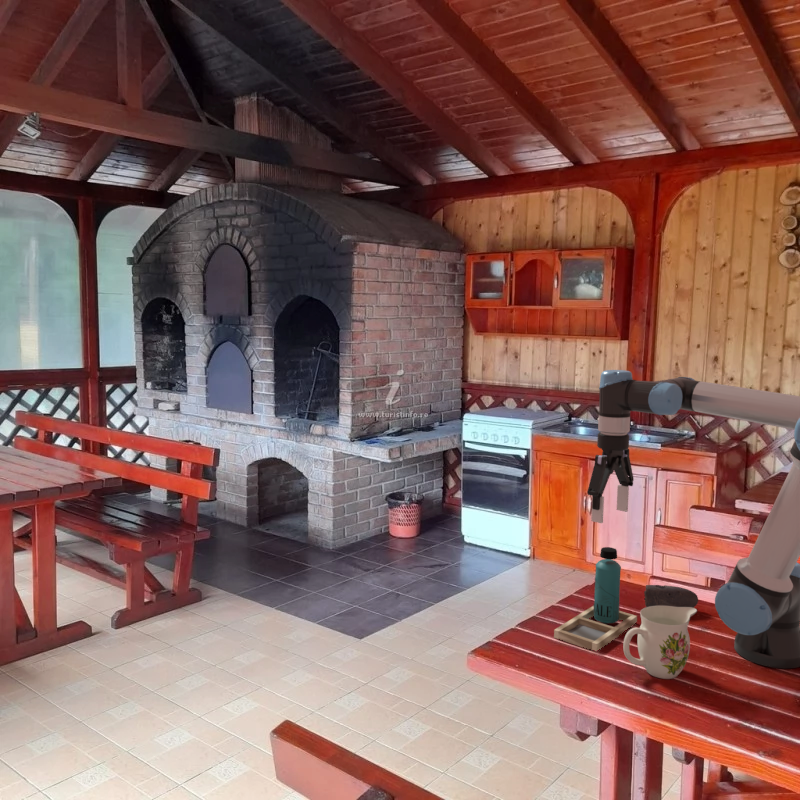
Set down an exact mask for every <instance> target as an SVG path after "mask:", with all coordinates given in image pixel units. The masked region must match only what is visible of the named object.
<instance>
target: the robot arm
mask: <svg viewBox="0 0 800 800" xmlns="http://www.w3.org/2000/svg"><path fill="white" fill-rule="evenodd" d="M599 380H600V381H599V387H598V390H599V395H598V396H599V397H598V398H599V400H598V401H599V402H598V404H599V405H598V418H597V419H596V420H597V421H598V427H597V430H598V433H597V441H596V442H597V445H596V446H597V448H599V449H601V450H602V452H601V455H600V454H596V455H595V458H594V463H593V465H594V466H593V469H592V472H591V473H592V474H591V476H590V480H589V483H588V487H587V495H588V496H591V497H592V499H591V518H590V519H591V522H594V523H598V524H603V523H604V510H605V509H604V508H605V507H604V506H605V505H604V504H605V496H603V494H604V491H605V489H606V486H607V485H608V484H607V483H608V481H609V479H610V475H611V474H614V473H615V475H616V478H617V481H618V483H619V484H617V492H616V493H617V494H616V495H617V496H616V510H617V511H619V512H628V511H629V494H630V493H629V492H630V491H629V490H630V487H633V486H634V473H633V468H632V464H631V459H630V449H629V448H630V435H629V432H631V430H630V428H631V412H639V413H644V414H645V413H646V414H654V415H658V416H664V415H665V416H673V415H676V414H677V413H678V411H680V410H684V411H689V412H694V413H696V412H697V413H702V414H706V415H713V416H718V417H724V418H728V419H733V420H734V419H735V420H740V421H745V422H751V423H755V424H761V425H766V426H772V427H777V428H783V429H788V430H794V435H793V438H794V441H793V444H792V446H791V448H790V450H789V456H790V457H791V459H792V462H793V463H792V465H791V467H790V469H789V472H788V473H787V476H786V478H785V480H784V482H783V483H782V486H781V488H780V490H779V493H778V494H777V497H776V499H775V500H774V503H773V505H772V506H771V509H770V511H769V514H768V515H767V518H766V520H765V522H764V524H763V526H762V529H761V530H760V532H759V534H758V537H757V539H756V541H755V542H754V545H753V547H752V550H751V551H750V553H749V555H748V557H744V558H740V559H738V561H737V562H736V564H735V566H734V569H733V571H732V572H731V575H730V577H729V579H728V581H727V582H726V583H724V584H723V585H721V587H720V588H718V591H717V592H716V594H715V596H714V607H715V610H716V612H717V614H718V616H719V618H720V620H721V621H722V622H723V623H724V625H726V626H727V628H729V629H731V631H734V632H736V635H735V637H734V643H733V645H734V650H735V652H736V653H737V654H738V655H739V656H740V657H742V658H744V659H745V660H748V661H749V662H752V663H755V664H757V665H761V666H765V667H769V668H773V669H774V668H775V669H795V668H796V669H797V668H800V563H799V562H798V560H799V558H800V395H794V394H788V393H782V392H781V393H780V392H774V391H768V390H760V389H754V388H748V387H740V386H735V385H727V384H721V383H715V382H708V381H700V380H697V379H696V380H695V379H694V378H692V377H686V376H678V377H675V378H667V379H661V380H656V381H654V380H653V381H651V380H649V381H648V380H637V379H633V373H632V371H629V370H625V369H606V370H603V371H602V372H601V374H600V379H599Z"/></svg>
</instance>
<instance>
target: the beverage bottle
mask: <svg viewBox="0 0 800 800" xmlns="http://www.w3.org/2000/svg"><path fill="white" fill-rule="evenodd" d="M599 555H600V556H599V557H600V558H602V559H600V560H598V561H597V562H596V563H595V573H594V576H595V577H594V589H593V591H594V595H593V599H594V600H593V606H594V609H593V612H594V620H596V622H599V623H602V624H615V623H617V622H618V621H619V620H618V619H619V611H620V606H621V605H620V592H621V591H620V589H621V586H620V585H621V569H622V566H621V565H620V564H619V562H617V559H618V550H617V549H616V548H614V547H609V546H605V547H601V549H600V554H599Z"/></svg>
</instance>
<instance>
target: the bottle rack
mask: <svg viewBox="0 0 800 800" xmlns="http://www.w3.org/2000/svg"><path fill="white" fill-rule="evenodd" d="M593 609H594V605H592V606H591V607H588V608H587V609H585V610H584V611H582V612H580V613H579V614H577V615H576V616H574V617H573V618H571V619H570V620H567V621H566V622H565V623H563V624H562V625H560V626H558V627H556V628H555V629H553V633H554V634H553V638H554V639H557V640H559V639H560V641H562V640H563V642H564V643H565V642H566V643H569V644H571V645H574V646H578V647H580V648H583V647H584V648H583V649H586V648H587V649H586V650H589V649H591V650H590V651H592V650H595V651H597V650H599V649H600V650H602V649H603V648H605V647H604V646H605V645H606V646H607V645H609V644H611V641H612V640H613V641H614V640H616V639H617V638H618V637H620V636H621V635H623V634H624V633H625V632H626V631H625V630H627V629H628V628H630V627H631V626H632V625H634V624H635V623H636V622H637V623H638V615H634V614H632V613H628V612H625V611H621V610H619V619H618V621H620V620H623V621H620V623H618V624H617V625H615V626H612V625H608V624H607V623H603V622H599V621H597V620H596V621H595V620H593V619H592V618H593V616H594V612H593ZM591 617H592V618H591ZM589 618H590V619H589ZM635 625H636V624H635ZM635 625H634V626H635ZM632 627H633V626H632ZM632 627H631V628H632ZM631 628H630V629H631ZM628 630H629V629H628ZM628 630H627V631H628ZM624 631H625V632H624ZM623 632H624V633H623ZM622 633H623V634H622ZM620 634H621V635H620ZM619 635H620V636H619ZM615 638H616V639H615ZM613 641H612V642H613ZM608 643H609V644H608ZM602 647H603V648H602ZM601 648H602V649H601ZM600 650H599V651H600Z"/></svg>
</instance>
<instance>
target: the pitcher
mask: <svg viewBox="0 0 800 800" xmlns="http://www.w3.org/2000/svg"><path fill="white" fill-rule="evenodd" d="M697 612H698V610H697V608H695V607H694V608H692V607H673V606H650V607H646V606H645V607H644V608H642V609H640V611H639V613H640V619H641V624H640V626H639V627H633V628H632V627H631V628H630V629H628V630H627V631H626V634H625V636H624V638H623V648H622V649H623V650H622V651H623V653H624V656H625V658H626V659H627V660H628V661H629V663H631V664H633V665H635V666H639V667H641V666H643V667H644V669H645V670H646V673H648V674H649V675H650V676H653V677H655V678H658V679H663V680H670V679H675V678H677V677H678V675H680V674H681V672H683V669H684V668H685V667H686V664H687V663H688V662H687V661H688V659H689V654H690V649H691V639H690V634H689V631H688V627H689V623H690V620H691V617H693V616H694V615H695V614H696V613H697ZM635 635H637V642H636V643H637V651H638V656H639V658H636V657H634V656H633V655H632V654H631V651H630V643H631V640H632V638H633V637H634V636H635Z"/></svg>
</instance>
